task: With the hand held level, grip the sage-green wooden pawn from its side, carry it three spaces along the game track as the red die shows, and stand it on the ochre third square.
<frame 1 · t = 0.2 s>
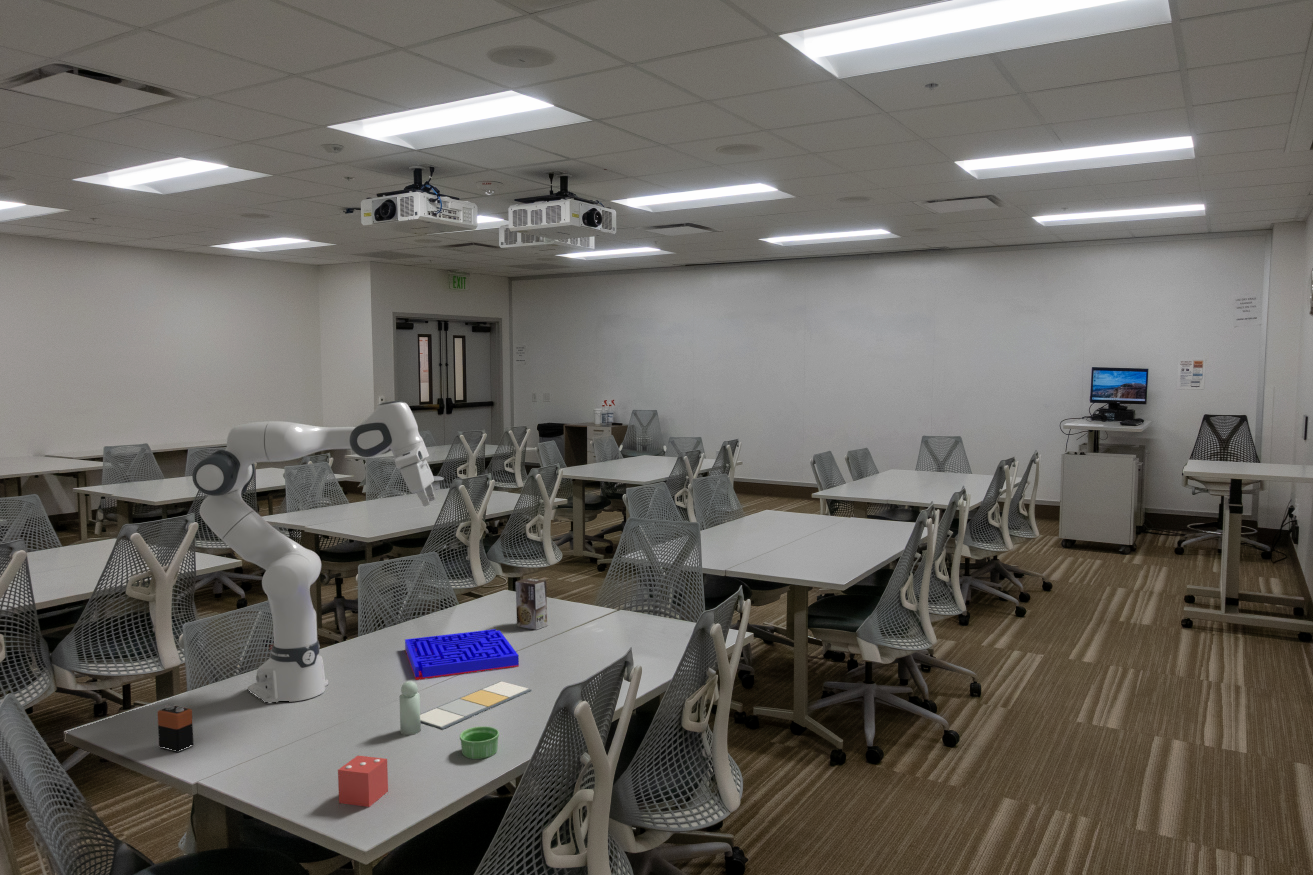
hand: (429, 502, 241), 52 cm above the table, tool tilted 20°, fingers open, 8 cm apart
game track: (473, 704, 232), on the table
battery: (176, 747, 207), on the table
maze: (460, 660, 271), on the table
red die: (363, 796, 181), on the table
pawn: (410, 730, 215), on the table
ramekin: (479, 752, 203), on the table
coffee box: (531, 626, 305), on the table
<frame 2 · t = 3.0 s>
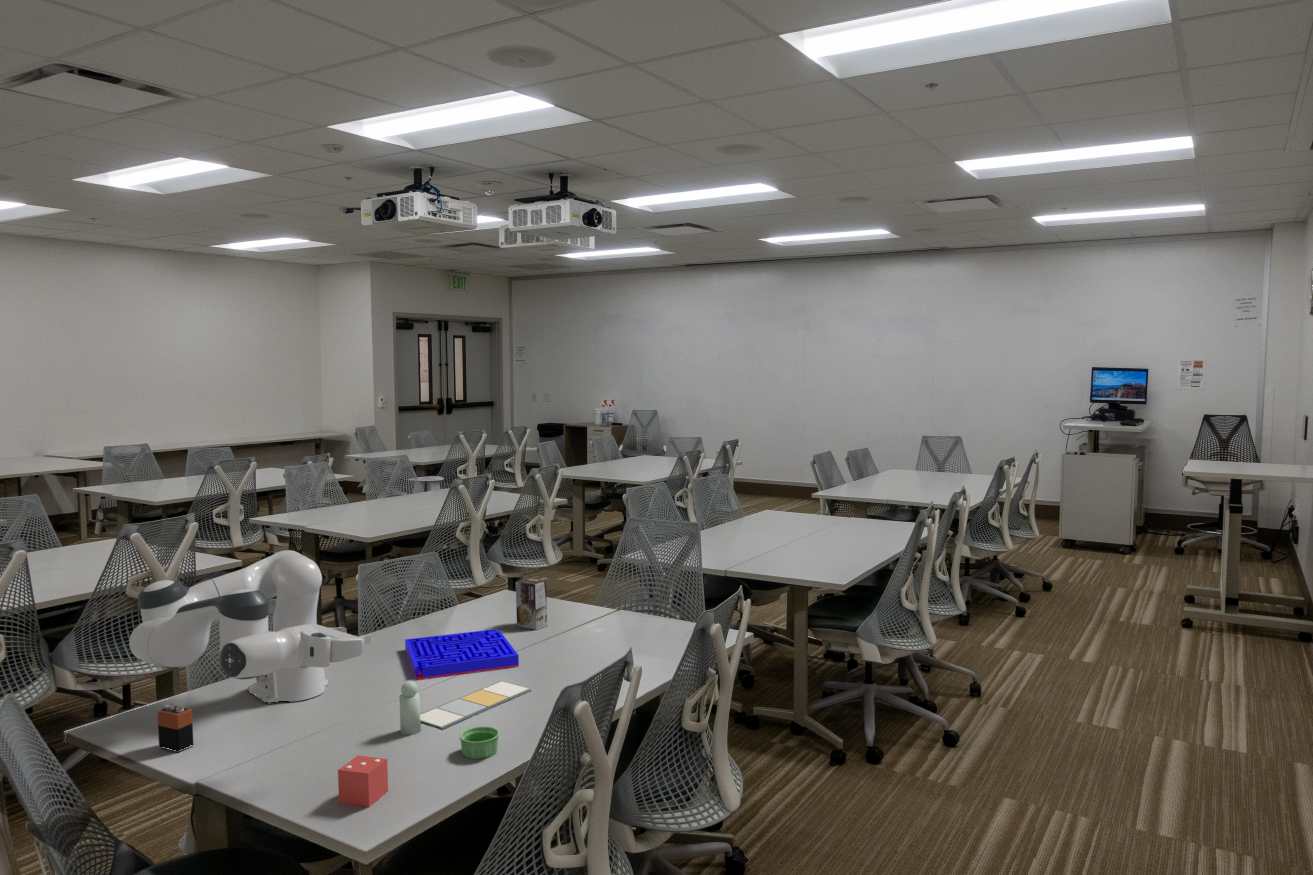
hand: (357, 634, 202), 28 cm above the table, tool horizontal, fingers open, 8 cm apart
nothing on the table moved.
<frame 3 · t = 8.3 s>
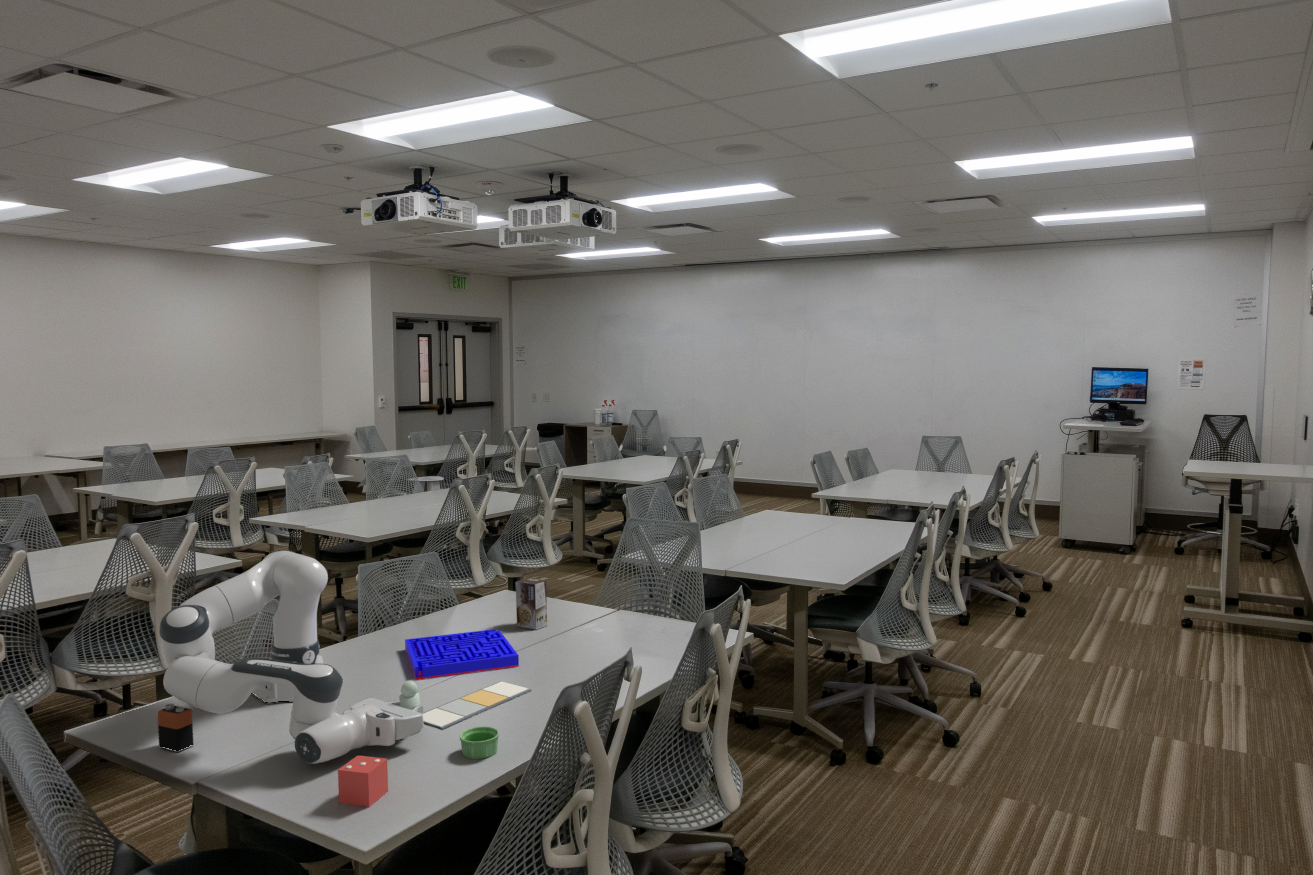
hand: (412, 705, 216), 6 cm above the table, tool horizontal, fingers closed on pawn, 5 cm apart
pawn: (410, 730, 215), on the table, touching gripper
everything else where it was.
when the fingers open (7 cm above the table, at t = 16.5 s): pawn stays where it is, resting on game track.
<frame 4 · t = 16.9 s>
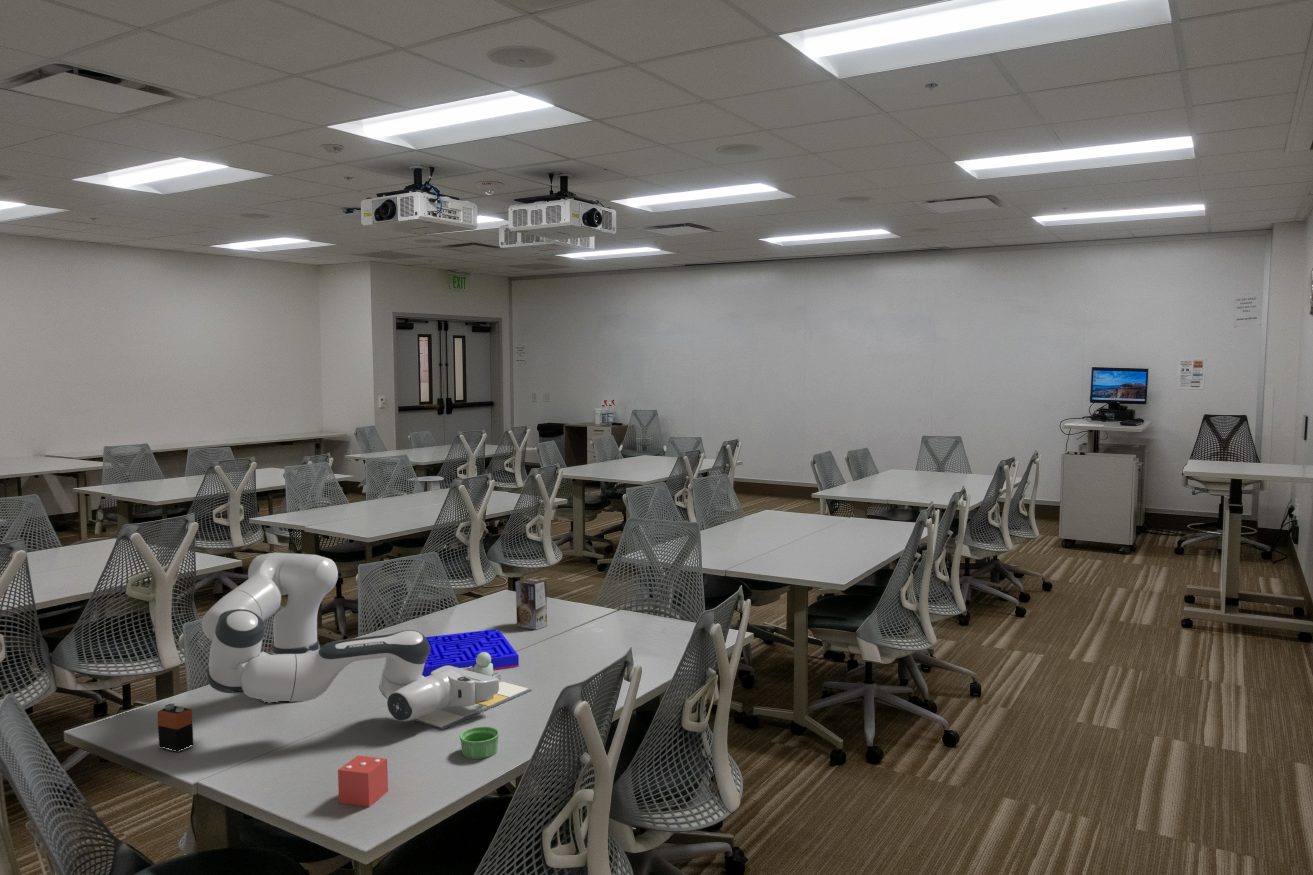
hand: (486, 672, 236), 7 cm above the table, tool horizontal, fingers open, 8 cm apart
pawn: (484, 697, 236), point 1 cm above the table, touching game track
everything else where it was.
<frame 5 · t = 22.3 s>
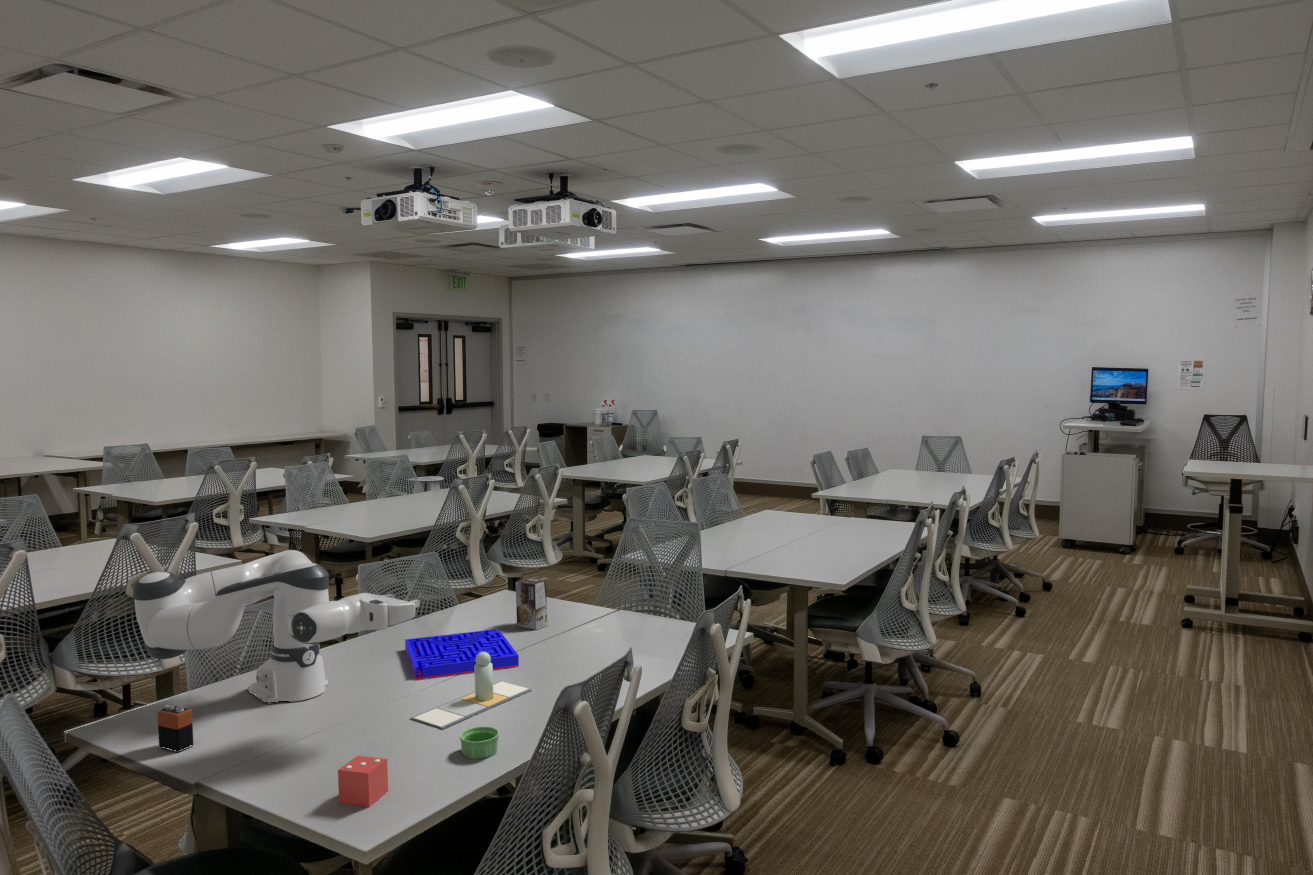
hand: (405, 599, 224), 30 cm above the table, tool horizontal, fingers open, 8 cm apart
nothing on the table moved.
at the end: pawn inside the target area (0.0 cm from its centre), point 0.6 cm above the table; pawn tilted 1°; the gripper is holding nothing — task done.
